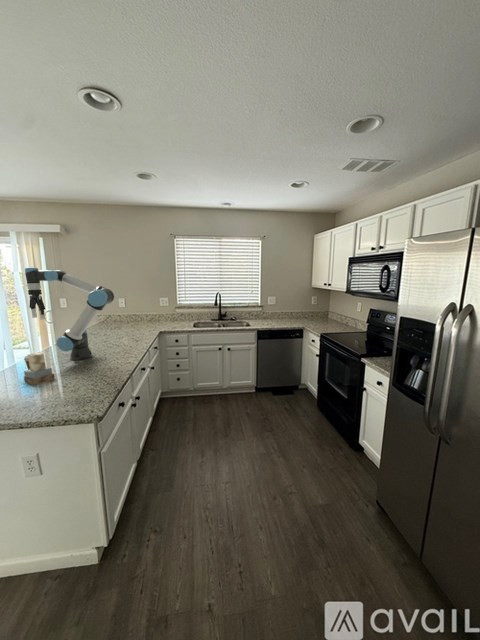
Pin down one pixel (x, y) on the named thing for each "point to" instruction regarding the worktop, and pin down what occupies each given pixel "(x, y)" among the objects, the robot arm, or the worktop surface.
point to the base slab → (39, 379)
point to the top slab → (38, 373)
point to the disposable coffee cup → (27, 362)
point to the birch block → (36, 361)
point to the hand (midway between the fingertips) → (38, 318)
